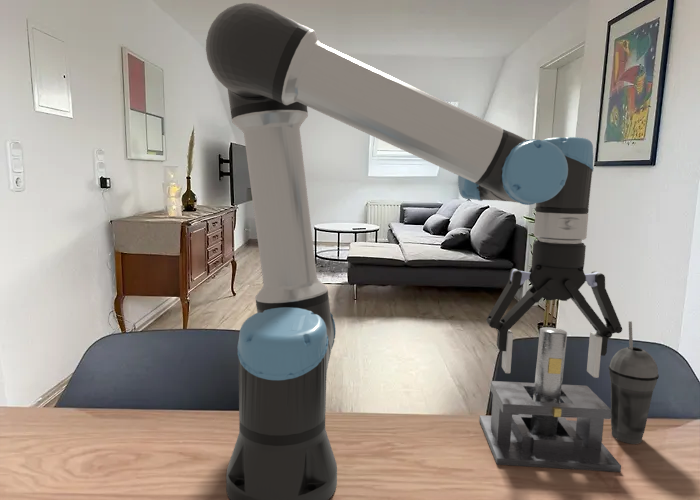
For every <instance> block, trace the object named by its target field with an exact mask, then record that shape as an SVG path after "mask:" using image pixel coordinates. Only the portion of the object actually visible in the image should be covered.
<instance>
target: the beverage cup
mask: <svg viewBox="0 0 700 500" xmlns="http://www.w3.org/2000/svg"><path fill="white" fill-rule="evenodd" d="M633 345H634V342H633V322H632V321H628V347H624V348H621V349H619V350H617V352H615V353H614V355H613V356H612V358H611V360H610V363H609V365H608V370H609V371H608V372H609V380H610V409H611V417H610V427H611V436H612V437H613V438H614V439H616V440H618V441H620V442H623V443H625V444H631V445H637V444H639V445H640V444H641V443H642V441H643V438H644V434H645V431H646V425H647V422H648V421H647V420H648V416H649V412H650V406H651V404H652V403H651V402H652V397H653V393H654V390H655V389H656V385H657V382H658V380H659V377H660V375H659V369H658V365H657V362H656V361H655V359H654V357H653V356H652V355H651V354H650V353H649V351H646V350H644V349H642V348H640V347H636V346H633Z"/></svg>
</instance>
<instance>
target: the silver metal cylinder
mask: <svg viewBox="0 0 700 500" xmlns="http://www.w3.org/2000/svg"><path fill="white" fill-rule="evenodd" d="M567 338H568V332H567V331H566V330H564V329H560V328H557V327H556V328H555V327H540V328H539V334H538V344H537V345H538V347H537V354H536V355H537V357H536V358H537V359H536V366H535V367H536V368H535V375H534V376H535V377H534V383H535V385H534V395H532V396H533V397H532V400H533V401H535V402H554V403H561V398H560V397H561V387H562V385H563V378H564V367H565V357H566V348H567V341H568V340H567ZM557 425H558V417H554V416H545V415H532V416H531V426H530V433H531V435H545V436H556V435H557Z"/></svg>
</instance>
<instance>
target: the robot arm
mask: <svg viewBox="0 0 700 500" xmlns="http://www.w3.org/2000/svg"><path fill="white" fill-rule="evenodd" d="M319 39H320V38H319V37H318V34H317V32H316V30H314V29H312V28H310V27H308V26H306V25H303V24H301V23H299V22H297V21H295V20H294V19H292V18H289V17H288V16H285V15H283V14H282V13H280V12H278V11H275V10H274V9H271V8H270V7H267V6H266V5H262V4H258V3H250V2H249V3H247V2H243V3H236V4H234V5H232V6H229V7H227V8H226V9H224V10H223V11H221V12H220V13H219V14H218V15H217V16H216V17H215V19H214V20H213V21H212V23H211V24H210V27H209V29H208V32H207V35H206V39H205V52H206V59H207V62H208V65H209V67H210V70H211V72H212V73H213V76H215V78H216V80H217V81H218V82H219V83H221V85H223V86H224V87H225V88H226V89H227V94H228V95H227V96H228V102H229V109H230V110H229V111H230V115H231V122H232V124H233V125H234V126H236V127H237V128H238V129H239V130H240V131H241V132H242V134H243V136H244V137H243V138H244V145H245V152H246V160H247V167H248V176H249V184H250V191H251V198H252V207H253V217H254V222H255V223H254V224H255V230H256V237H257V238H256V239H257V245H258V246H257V247H258V253H259V261H260V269H261V276H262V283H263V284H262V288H261V289H260V290H259V291H258V292H257V294H256V295H255V298H254V299H255V305H256V313H254V314H252V315H251V316H249V317H248V318H246V319H245V320H244V322H243V323H242V325H241V327H240V329H239V334H238V335H239V336H238V340H237V341H238V342H237V346H236V347H237V348H236V349H237V358H238V408H239V409H238V414H239V415H238V416H239V417H238V423H239V424H238V425H239V426H238V427H239V432H238V436H237V437H236V441H235V444H234V447H233V450H232V453H231V457H230V459H229V462H228V465H227V468H226V476H225V477H226V478H225V481H226V482H225V483H226V484H225V485H226V490H225V491H226V494H227V497H228V499H229V500H330V499H331V498H332V496H333V494H334V493H335V492H336V489H337V485H338V465H337V461H336V457H335V454H334V451H333V449H332V446H331V445H332V444H331V442H330V438H329V436H328V432H327V430H326V413H327V412H326V411H327V410H326V408H327V407H326V403H327V373H328V368H329V363H330V357H331V353H332V350H333V347H334V344H335V339H336V332H337V331H336V322H335V319H334V318H333V317H334V316H333V314H332V312H331V305H330V297H329V289H328V287H327V286H326V284H324V283H323V282H322V281H320V280H319V279H318V274H317V267H316V266H317V265H316V257H315V249H314V240H313V232H312V223H311V215H310V207H309V199H308V198H309V197H308V190H307V189H308V188H307V181H306V172H305V171H306V170H305V165H304V155H303V154H304V153H303V148H302V146H303V145H302V136H301V126H302V124H304V123H305V120H306V119H307V118H308V116H309V113H308V112H309V111H308V108H310V109H312V110H315V111H317V112H319V113H322V114H323V115H326V116H329V117H330V118H332V119H334V120H337V121H339V122H341V123H343V124H346V125H348V126H349V127H352V128H354V129H356V130H358V131H361V132H363V133H365V134H366V135H369V136H372V137H373V138H376V139H378V140H380V141H382V142H385V143H387V144H389V145H391V146H393V147H396V148H398V149H400V150H402V151H405V152H406V153H409V154H411V155H413V156H415V157H418V158H420V159H421V160H423V161H426V162H428V163H430V164H433V165H435V166H437V167H439V168H441V169H443V170H446V171H448V172H450V173H453V174H455V175H457V176H458V177H457V181H458V182H457V183H458V191H459V194H460V196H461V198H462V199H465V200H477V201H480V202H482V201H498V202H499V201H500V202H510V203H516V204H517V203H519V204H521V205H524V206H526V205H529V206H531V205H535V209H534V211H535V214H534V215H535V216H534V227H533V236H534V237H535V238H537V239H536V240H534V242H533V243H532V253H531V254H532V255H531V268H530V269H529V271H525V270H524V271H523V270H518V269H517V268H511V269H510V272H509V275H508V276H509V277H508V281H507V283H506V285H505V287H504V289H503V290H502V292H501V294H500V295H499V297H498V298H497V300H496V302H495V304H494V305H493V307H492V309H491V311H489V314H488V315H487V317H486V320H485V321H486V323H487V324H488V325H489V327H490V328H492V329H496V330H497V337H496V347H497V349H498V350H499V351H500V352H502V355H501V368H502V370H503V372H504V373H505V374H511V370H512V369H511V367H512V353H513V339H514V333H513V332H512V330H511V328H512V327H513V326H514V325H515V324H516V323H517V322H518V321H519V320H520V319H521V318H523V316H524V315H525V314H526V313H527V312H528V311H530V309H531V308H532V307H533V306H534V305H535V304H537V303H539V302H540V301H541V300H542V299H544V300H546V301H555V300H558V301H563V302H564V301H565V302H568V300H572V302H573V303H574V304H575V306H577V308H578V309H579V310H580V312H581V314H583V316H584V317H585V318H586V320H587V321H588V322H589V323H590V325H591V326H592V327H593V329H594V330H595V331H594V332H593V331H591V332H589V341H588V343H589V344H588V349H587V350H588V352H587V363H586V372H587V373H588V374H589V375H590V376H592V377H593V378H595V379H596V378H597V379H599V376H600V368H601V367H600V366H601V356H603V357H604V356H606V354H607V351H608V341H609V339H611V337H613V334H615V333H616V334H621V333H622V332H623V327H622V324H621V322H620V320H619V317H618V315H617V313H616V310H615V308H614V305H613V303H612V300H611V298H610V297H609V296H610V295H609V293H608V291H607V289H606V276H605V274H603V273H601V272H599V271H597V270H594V271H591V272H590V273H585V271H584V267H585V258H586V248H587V245H585V243H584V242H583V241H584V240H586V239H587V235H588V224H589V223H588V221H589V207H590V198H591V197H590V195H591V187H592V186H591V185H592V178H593V172H594V146H593V142H592V141H591V140H590V139H588V138H586V137H578V136H577V137H575V136H573V137H572V136H568V137H550V138H549V137H548V138H545V139H534V138H532V139H527V138H524V137H522V136H520V135H518V134H516V133H514V132H511V131H509V130H506V129H504V128H502V127H501V126H498V125H496V124H495V123H494V124H493V123H491V122H489V121H488V120H486V119H483V118H481V117H479V116H476V115H474V114H472V113H470V112H468V111H466V110H464V109H463V108H459V107H457V105H456V106H455V105H453V104H451V103H449V102H447V101H445V100H442V99H441V98H438V97H437V96H434V95H432V94H430V93H428V92H426V91H423V90H422V89H419V88H417V87H415V86H413V85H411V84H409V83H406V82H404V81H402V80H400V79H398V78H396V77H393V76H392V75H390V74H387V73H385V72H383V71H381V70H379V69H376V68H375V67H373V66H370V65H368V64H366V63H364V62H362V61H360V60H358V59H356V58H353V57H351V56H349V55H347V54H345V53H342V52H340V51H338V50H336V49H334V48H332V47H329V46H327V45H325V44H323V43H321V41H320V40H319ZM527 280H528V281H529V283H530V284H531V286H530V287H529V289H527V290H526V292H525V294H524V295H523V296H522V297H521V298H520V299H519V300H518V301H517V302H516V303H515V305H513V307H512V308H510V310H509V311H507V310H508V308H509V306H510V304H511V303H512V301H513V300H514V298H515V296H516V294H517V293H518V291H519V289H520V287H521V286H522V285H524V284H525V282H526V281H527ZM585 283H586V284H587V285H588V286H589V287H590V288H591V291H592V293H593V295H594V298H595V300H596V302H597V305H598V307H599V309H600V312H601V314H602V316H603V319H604V321H605V323H604V322H603V321H602V319H601V318H600V316H599V315H598V314H597V313H596V312H595V310H594V309H593V307H592V306H591V305H590V304H589V303H588V301H587V300H586V297H584V295H583V294H582V292H581V291H580V289H581V287H582V286H583V285H584V284H585ZM506 311H507V313H506ZM505 313H506V314H505Z"/></svg>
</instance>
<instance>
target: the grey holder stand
mask: <svg viewBox="0 0 700 500" xmlns="http://www.w3.org/2000/svg"><path fill="white" fill-rule="evenodd" d="M534 385H535V382H522V381H521V382H519V381H498V380H490V388H489V390H490V392H491V394H492V403H491V415H479V420H478V421H479V423H480V426H481V428H482V431H483V434H484V436H485V438H486V441H487V444H488V445H489V449H490V451H491V453H492V456H493V459H494V461H495V463H496V465H498V466H499V465H500V466H502V465H503V466H515V467H533V468H534V467H535V468H547V469H567V470H580V471H581V470H582V471H583V470H584V471H585V470H586V471H597V472H600V471H601V472H610V473H611V472H614V473H622V465H621V463H620V462H619V461H618V460H617V458H616V457H615V456H614V455H613V454H612V453H611V452H610V451H609V450H608V448H607V447H606V446H605V444H604V443H603V435H604V434H603V432H604V423H605V422H604V421H605V420H611V407H609V406H608V405H607V404H606V402H604V401H603V399H601V398H600V397H599V396H598V395H597V394H596V393H595V392H594V391H593V390H592V388H590V387H589V386H588V385H579V384H578V385H577V384H562V387H561V397H560V400H561V401H563V402H560V403H554V402H535V401H533V397H531V396H534ZM532 415H545V416H554V417H558V425H557V435H556V436H545V435H531V433H530V426H531V416H532ZM566 417H568V418H576V420H572V419H571V420H569V419H567V418H566Z"/></svg>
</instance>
